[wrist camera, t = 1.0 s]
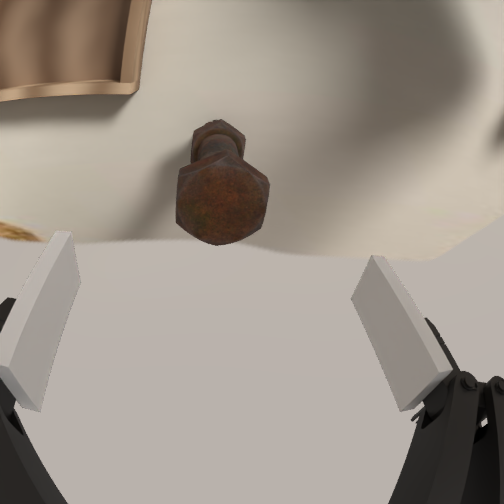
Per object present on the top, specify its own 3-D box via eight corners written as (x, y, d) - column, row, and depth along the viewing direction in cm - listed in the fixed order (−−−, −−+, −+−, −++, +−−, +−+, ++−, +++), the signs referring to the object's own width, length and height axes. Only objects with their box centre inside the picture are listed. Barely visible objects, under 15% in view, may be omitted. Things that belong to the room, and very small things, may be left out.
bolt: (200, 167, 31) (194, 258, 19) (178, 124, 28) (153, 190, 16) (253, 145, 31) (284, 223, 19) (235, 100, 28) (254, 147, 16)
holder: (171, -77, 15) (166, -90, 13) (139, 89, 26) (130, 94, 23) (10, -50, 12) (-7, -54, 9) (-10, 98, 22) (-28, 106, 19)
